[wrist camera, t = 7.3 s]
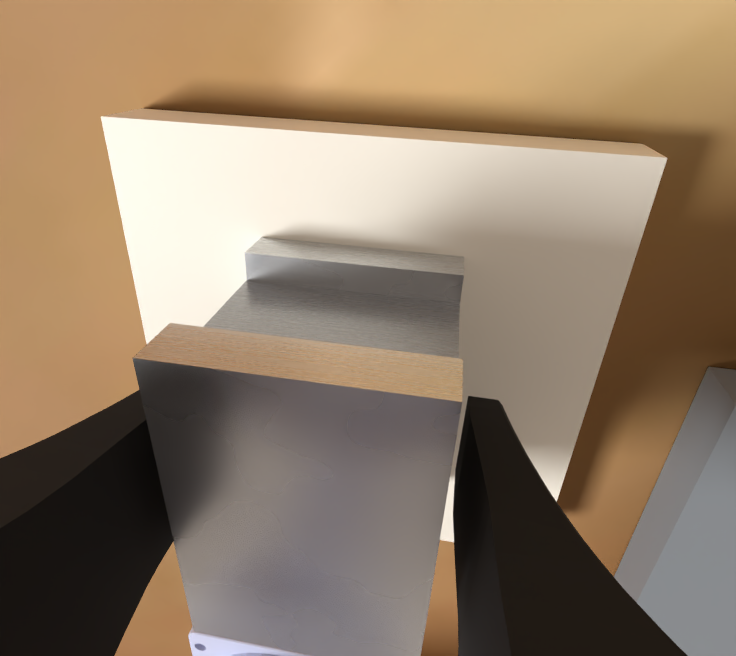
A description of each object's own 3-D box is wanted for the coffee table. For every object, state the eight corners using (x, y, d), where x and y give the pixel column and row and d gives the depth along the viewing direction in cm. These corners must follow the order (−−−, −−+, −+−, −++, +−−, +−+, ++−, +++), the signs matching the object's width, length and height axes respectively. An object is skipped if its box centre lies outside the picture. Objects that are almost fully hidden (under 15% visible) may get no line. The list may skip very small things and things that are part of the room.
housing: (432, 478, 14) (417, 677, 9) (276, 454, 14) (193, 631, 10) (464, 256, 11) (461, 402, 6) (261, 237, 11) (132, 358, 7)
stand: (533, 514, 16) (539, 556, 14) (198, 461, 17) (177, 494, 16) (642, 143, 10) (667, 158, 9) (141, 108, 12) (100, 116, 10)
